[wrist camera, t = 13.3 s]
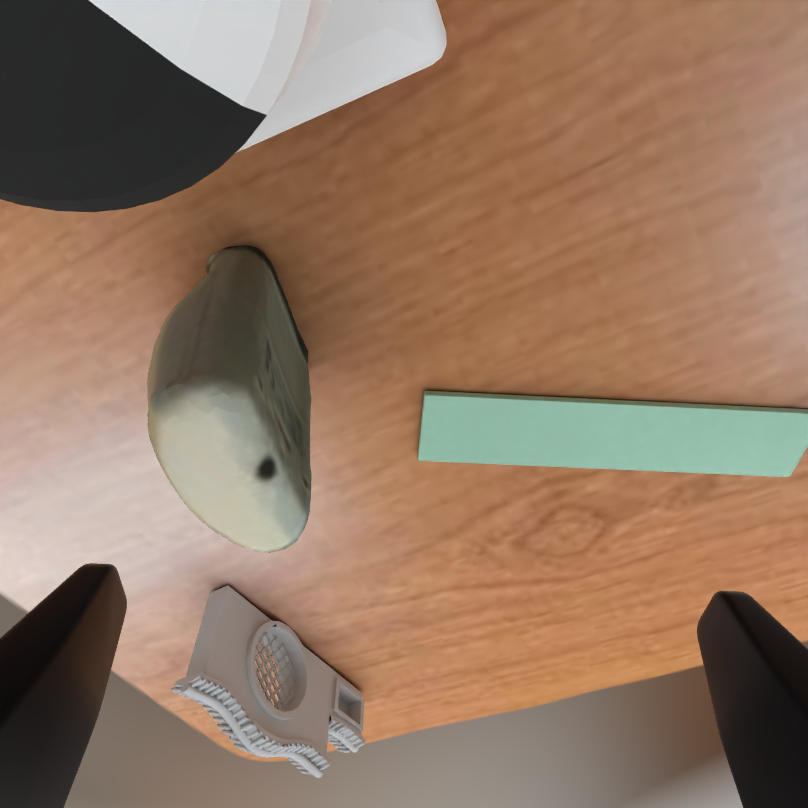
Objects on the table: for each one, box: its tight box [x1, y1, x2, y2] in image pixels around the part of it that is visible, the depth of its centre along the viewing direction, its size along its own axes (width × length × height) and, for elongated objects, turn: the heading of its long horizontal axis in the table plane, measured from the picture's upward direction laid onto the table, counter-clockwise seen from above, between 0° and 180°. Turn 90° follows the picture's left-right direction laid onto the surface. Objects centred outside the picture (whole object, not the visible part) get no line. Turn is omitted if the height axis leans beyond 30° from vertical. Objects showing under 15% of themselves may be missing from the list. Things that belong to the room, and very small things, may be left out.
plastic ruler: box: [418, 391, 808, 477], centre depth 24 cm, size 15×3×1 cm, turn 86°
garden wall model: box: [171, 585, 365, 778], centre depth 30 cm, size 12×2×6 cm, turn 31°
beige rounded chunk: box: [147, 246, 311, 553], centre depth 18 cm, size 6×5×8 cm
